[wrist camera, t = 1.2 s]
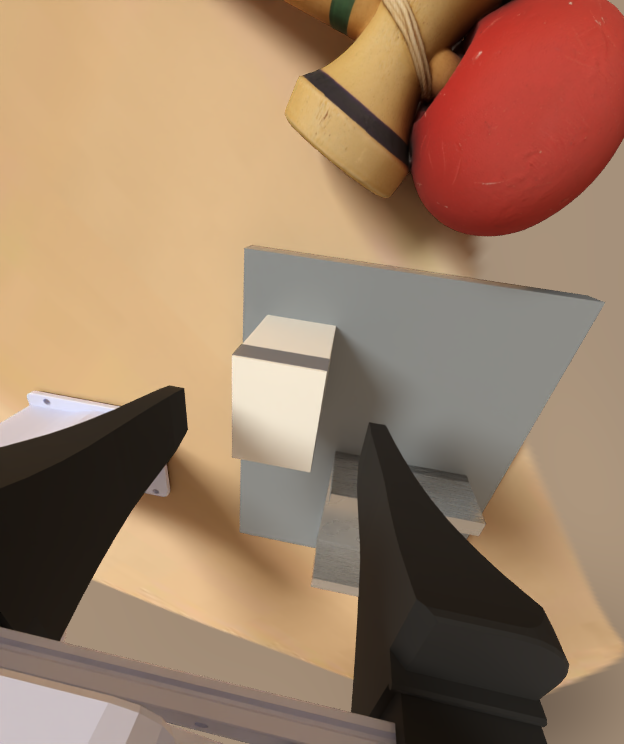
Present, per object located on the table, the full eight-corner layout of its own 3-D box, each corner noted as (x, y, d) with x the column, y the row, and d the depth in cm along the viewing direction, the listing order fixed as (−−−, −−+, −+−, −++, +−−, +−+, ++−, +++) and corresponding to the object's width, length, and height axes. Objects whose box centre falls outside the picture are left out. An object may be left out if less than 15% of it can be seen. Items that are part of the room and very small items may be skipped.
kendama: (136, 42, 14) (460, 293, 14) (-44, -158, 8) (535, 295, 8) (225, -184, 11) (605, 125, 12) (73, -725, 5) (856, -44, 6)
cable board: (244, 518, 25) (239, 532, 24) (252, 245, 15) (244, 248, 14) (442, 559, 24) (445, 575, 23) (587, 295, 14) (605, 302, 13)
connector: (262, 397, 18) (231, 457, 14) (267, 314, 16) (231, 355, 11) (322, 408, 18) (310, 473, 14) (336, 325, 16) (327, 371, 11)
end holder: (316, 540, 24) (310, 586, 21) (335, 450, 19) (331, 493, 16) (422, 561, 23) (432, 612, 20) (466, 475, 19) (486, 524, 16)
